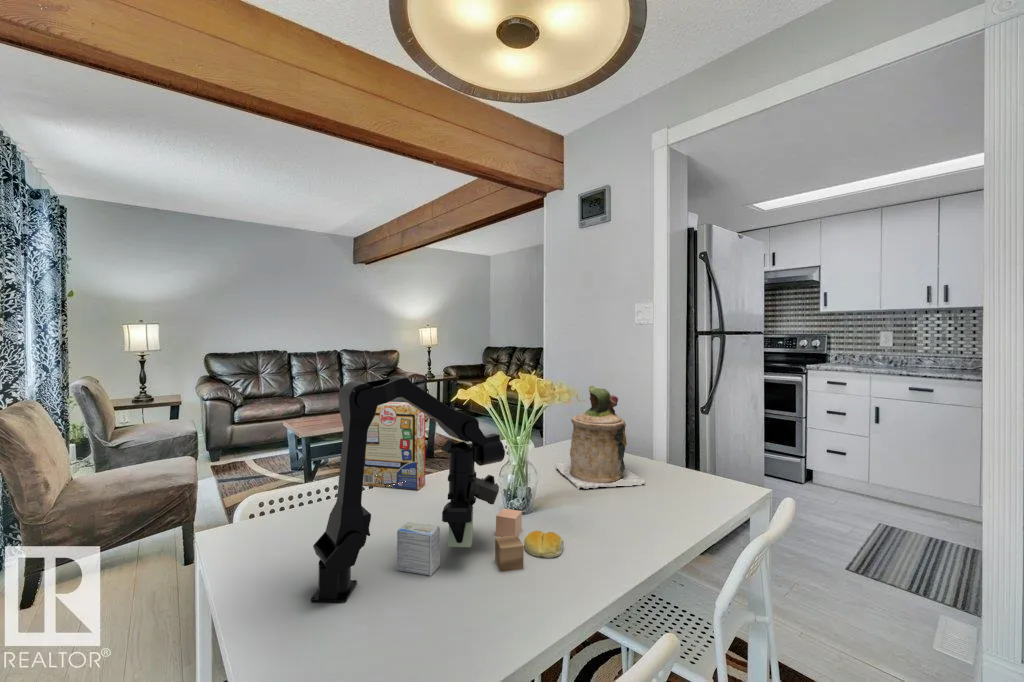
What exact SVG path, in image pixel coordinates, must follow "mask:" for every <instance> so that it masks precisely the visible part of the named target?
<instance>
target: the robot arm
mask: <svg viewBox="0 0 1024 682" xmlns="http://www.w3.org/2000/svg"><path fill="white" fill-rule="evenodd" d="M395 399H401V400H403V402H407V403H409V404H410V405H412V406H414V407H415V408H417V409H418V410H420V411H422V412H423V413H425V416H428V417H429V418H431V419H433V420H434V421H435V422H436V423H437V424H438V425H439V427H440V428H441V429H442V430H443V431H444V432H445V433H446V434H447V435H449V436H450V437H452V438H453V439H454V438H455V439H457V440H460V441H457V442H455V441H452V440H450V439H448V440H447V441H446V442H445V443H444V444H443V445H442V446H441V447H440V450H441V451H442V452H445V453H447V454H449V458H448V459H449V461H448V466H449V468H448V470H449V471H448V475H447V482H448V493H447V500H450V501H449V502H447V503H446V504H445V505H444V506H443V510H442V513H441V522H443V523H447V524H448V527H449V526H450V528H451V530H452V532H453V534H454V537H455V539H456V541H457V543H462V541H463V536H464V531H465V526H466V523H469V522H472V517H473V518H474V505H475V503H476V501H477V499H478V500H481V501H483V502H486V503H487V504H488V505H489V504H490V505H495V502H496V500H497V497H498V495H499V491H500V486H499V485H498V483H496V482H495V481H496V480H495V476H494V475H491V474H487V475H486V476H485V477H484V478H483V477H481V478H480V477H477V472H476V470H475V464H476V465H478V466H479V467H481V466H486V465H491V464H496V463H501V462H502V461H503V460H504V458H505V455H506V450H505V447H504V444H503V442H502V440H501V439H500V438H501V437H500V434H498V433H490V434H488V435H485V433H483V432H482V430H481V429H480V426H479V425H480V424H479V423H480V422H479V419H477V418H476V417H475V416H473V415H470V414H468V413H466V412H463V411H460V410H457V409H454V408H452V407H450V406H448V405H447V404H445V403H444V402H442V401H440V400H439V399H437V398H436V397H435V396H433V395H432V394H430V393H429V392H427V391H426V390H424V389H422V388H421V387H420V386H419V385H417V384H415V383H413V382H412V381H411V380H410V379H409V378H408V377H405V376H402V375H401V376H400V375H393V376H390V377H385V378H381V379H375V380H369V381H366V382H365V381H364V382H362V381H358V380H357V381H356V380H352V381H348V382H346V383H345V384H344V385H343V386H342V387H340V389H339V392H338V407H339V414H340V419H341V423H342V428H343V431H342V441H341V442H342V443H341V451H340V462H339V463H340V464H339V472H338V473H339V475H338V485H337V494H336V495H337V498H336V502H335V504H334V505H333V508H332V509H331V511H330V513H329V518H328V520H327V525H326V528H325V531H324V532H323V533H322V535H321V536H320V537H319V538H318V540H316V541H315V543H314V544H313V545H312V547H313V549H314V552H315V554H316V556H318V558H319V560H318V585H317V587H318V588H317V590H316V591H315V592H314V594H313V595H312V596H311V598H310V602H311V603H345V602H347V600H348V599H349V597H350V596H351V594H352V593H353V591H354V590H355V588H356V586H357V585H358V581H357V580H356V579H353V580H352V567H353V566H355V564H356V562H357V559H358V556H359V553H360V550H361V549H362V548H363V547H365V545H366V542H367V537H370V536H371V533H370V523H371V521H372V520H371V519H372V514H371V513H370V512H369V511H368V510H367V509H366V508H365V507H364V506H363V505H362V499H363V498H362V497H363V486H364V485H363V477H364V466H365V455H366V443H367V432H368V428H369V426H370V424H371V422H372V421H373V419H374V417H375V413H376V409H377V406H378V405H381V404H385V403H388V402H393V401H394V400H395ZM469 442H471V443H469Z"/></svg>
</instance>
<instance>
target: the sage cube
mask: <svg viewBox="0 0 1024 682" xmlns="http://www.w3.org/2000/svg"><path fill="white" fill-rule="evenodd" d="M473 538H474V516H473V517H472V522H469V523H466V526H465V531H464V536H463V541H462V543H457V541H456V539H455V537H454V534H453V532H452V530H451V528H450V526H449V525H448V547H449V548H471V547H472V543H473Z"/></svg>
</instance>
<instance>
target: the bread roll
mask: <svg viewBox="0 0 1024 682" xmlns="http://www.w3.org/2000/svg"><path fill="white" fill-rule="evenodd" d="M523 542H524V543H523V545H524V549H525V551H526V552H527V553H528V554H529V555H530V556H531V555H532V556H533V557H539V558H541V557H543V558H545V559H551V558H556V557H559V556H560V555H561V554H562V552H563V550H564V542H565V541H564V539H562V538H561V536H560V535H559V534H557V533H555V532H553V531H548V532H543V531H541V530H534V531H530V532H529V533H528V534H527V535H526V536H525V537H524V540H523Z"/></svg>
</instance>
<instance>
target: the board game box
mask: <svg viewBox="0 0 1024 682" xmlns="http://www.w3.org/2000/svg"><path fill="white" fill-rule="evenodd" d="M376 475H377V476H376ZM405 481H406V482H405ZM402 482H403V483H402ZM398 483H399V484H398ZM393 484H395V485H393ZM389 485H390V486H389ZM425 485H426V414H425V413H423V412H422V411H420V410H418V409H417V408H415V407H414V406H412V405H410V404H409V403H407V402H406V401H402V402H401V401H390V402H388V403H385V404H381V405H378V406H377V409H376V413H375V417H374V419H373V421H372V422H371V424H370V426H369V428H368V432H367V443H366V455H365V466H364V477H363V486H368V487H369V486H370V487H382V488H391V487H392V488H393V489H404V490H405V489H406V490H415V491H419V490H420V489H421V488H423V487H424V486H425ZM385 486H386V487H385ZM422 486H423V487H422ZM392 488H391V489H392Z"/></svg>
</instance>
